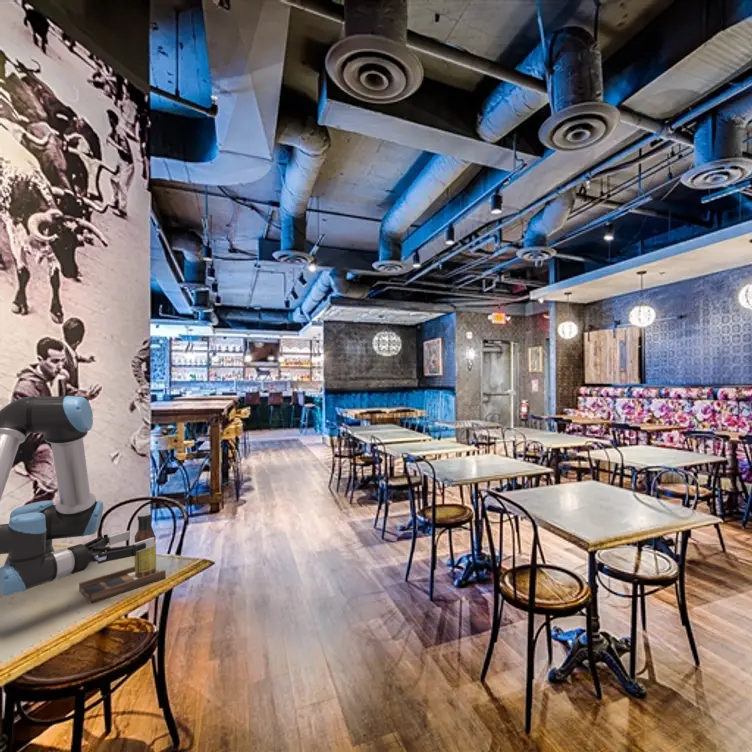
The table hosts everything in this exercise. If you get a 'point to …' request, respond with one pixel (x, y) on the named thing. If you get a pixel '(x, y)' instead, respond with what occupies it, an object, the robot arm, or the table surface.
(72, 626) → the table surface
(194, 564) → the table surface
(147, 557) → the sauce bottle
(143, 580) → the trap channel board
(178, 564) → the table surface
